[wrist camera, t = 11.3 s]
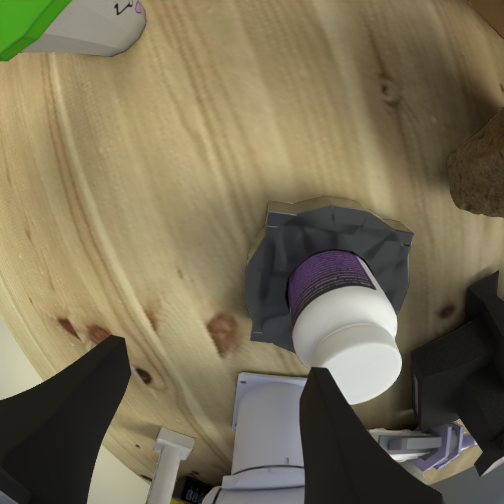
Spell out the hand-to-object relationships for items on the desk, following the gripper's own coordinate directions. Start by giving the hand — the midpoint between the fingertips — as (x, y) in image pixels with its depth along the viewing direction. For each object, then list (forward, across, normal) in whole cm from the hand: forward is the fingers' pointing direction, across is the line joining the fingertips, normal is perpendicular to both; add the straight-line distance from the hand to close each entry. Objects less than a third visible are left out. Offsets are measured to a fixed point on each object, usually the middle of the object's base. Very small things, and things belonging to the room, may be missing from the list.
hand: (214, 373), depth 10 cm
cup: (+11, +10, -16) cm, 22 cm away
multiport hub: (+8, +2, +43) cm, 43 cm away
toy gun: (+4, -24, +15) cm, 29 cm away
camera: (+10, -24, +5) cm, 27 cm away
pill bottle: (+10, -6, 0) cm, 12 cm away
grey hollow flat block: (+10, -6, 0) cm, 12 cm away
